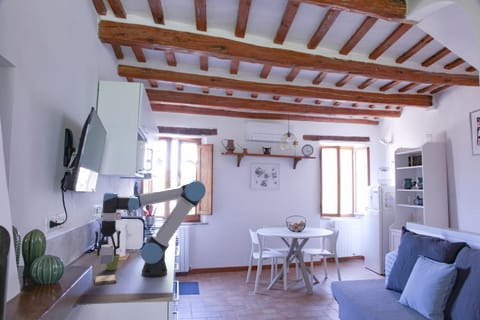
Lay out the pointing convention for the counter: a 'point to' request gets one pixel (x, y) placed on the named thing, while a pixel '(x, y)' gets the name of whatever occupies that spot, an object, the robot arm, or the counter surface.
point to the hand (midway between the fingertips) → (106, 261)
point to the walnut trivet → (105, 279)
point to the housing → (106, 254)
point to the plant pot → (113, 263)
